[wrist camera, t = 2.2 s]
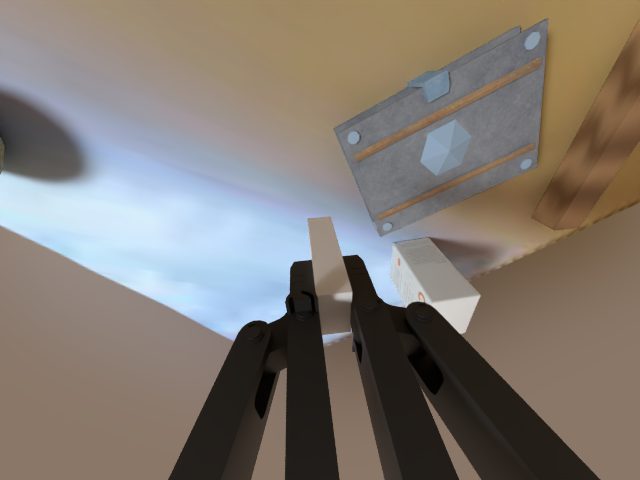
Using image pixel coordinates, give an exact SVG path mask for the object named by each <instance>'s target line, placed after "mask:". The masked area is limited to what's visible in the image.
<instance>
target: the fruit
mask: <svg viewBox="0 0 640 480" xmlns="http://www.w3.org/2000/svg"><path fill="white" fill-rule="evenodd" d="M4 151H5V146H4V143H3V141H2V139H1V138H0V174H1V172H2V170H3V159H4Z"/></svg>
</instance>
